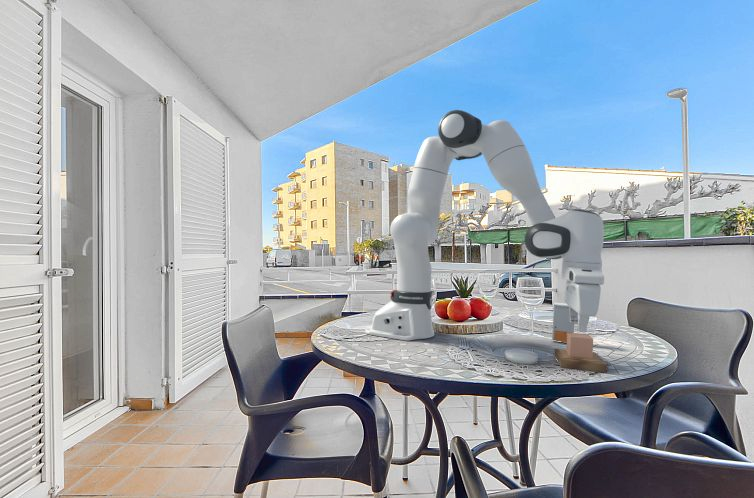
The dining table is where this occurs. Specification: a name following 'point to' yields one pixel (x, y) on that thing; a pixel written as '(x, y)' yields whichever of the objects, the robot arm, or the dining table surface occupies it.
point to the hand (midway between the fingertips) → (577, 327)
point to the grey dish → (521, 356)
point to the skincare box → (561, 322)
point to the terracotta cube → (579, 345)
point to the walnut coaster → (580, 361)
